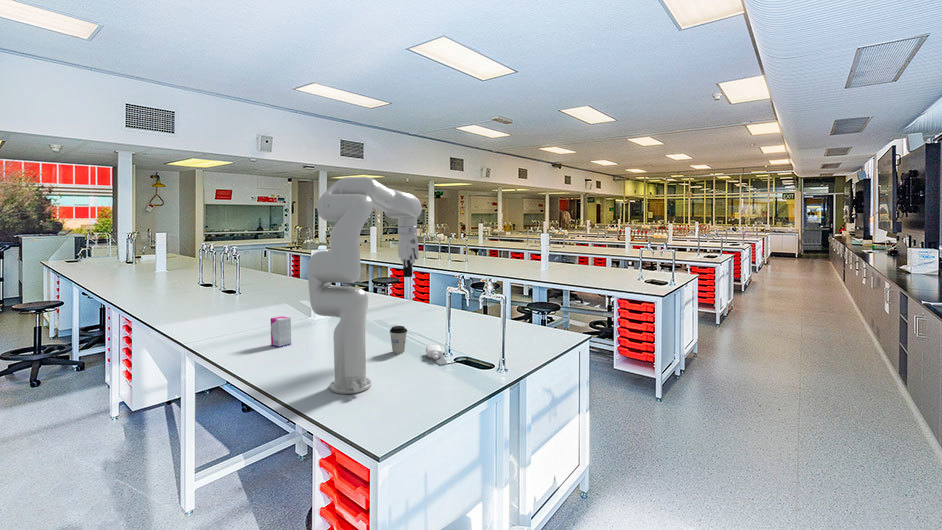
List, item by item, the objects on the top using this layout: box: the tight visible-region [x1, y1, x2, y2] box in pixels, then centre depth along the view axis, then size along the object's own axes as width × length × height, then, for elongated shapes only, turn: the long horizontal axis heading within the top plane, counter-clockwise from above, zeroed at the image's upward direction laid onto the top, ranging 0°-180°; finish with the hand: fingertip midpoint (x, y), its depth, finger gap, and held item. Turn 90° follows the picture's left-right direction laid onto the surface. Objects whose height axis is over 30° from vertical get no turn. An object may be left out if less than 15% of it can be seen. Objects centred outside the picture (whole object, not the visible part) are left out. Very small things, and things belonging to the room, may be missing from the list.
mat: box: [424, 352, 448, 366], centre depth 172 cm, size 12×10×1 cm
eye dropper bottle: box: [425, 344, 443, 359], centre depth 173 cm, size 4×6×12 cm
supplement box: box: [270, 315, 292, 349], centre depth 188 cm, size 6×6×12 cm
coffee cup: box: [389, 325, 408, 355], centre depth 180 cm, size 7×7×10 cm
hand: (407, 276), depth 184 cm, fingers closed
